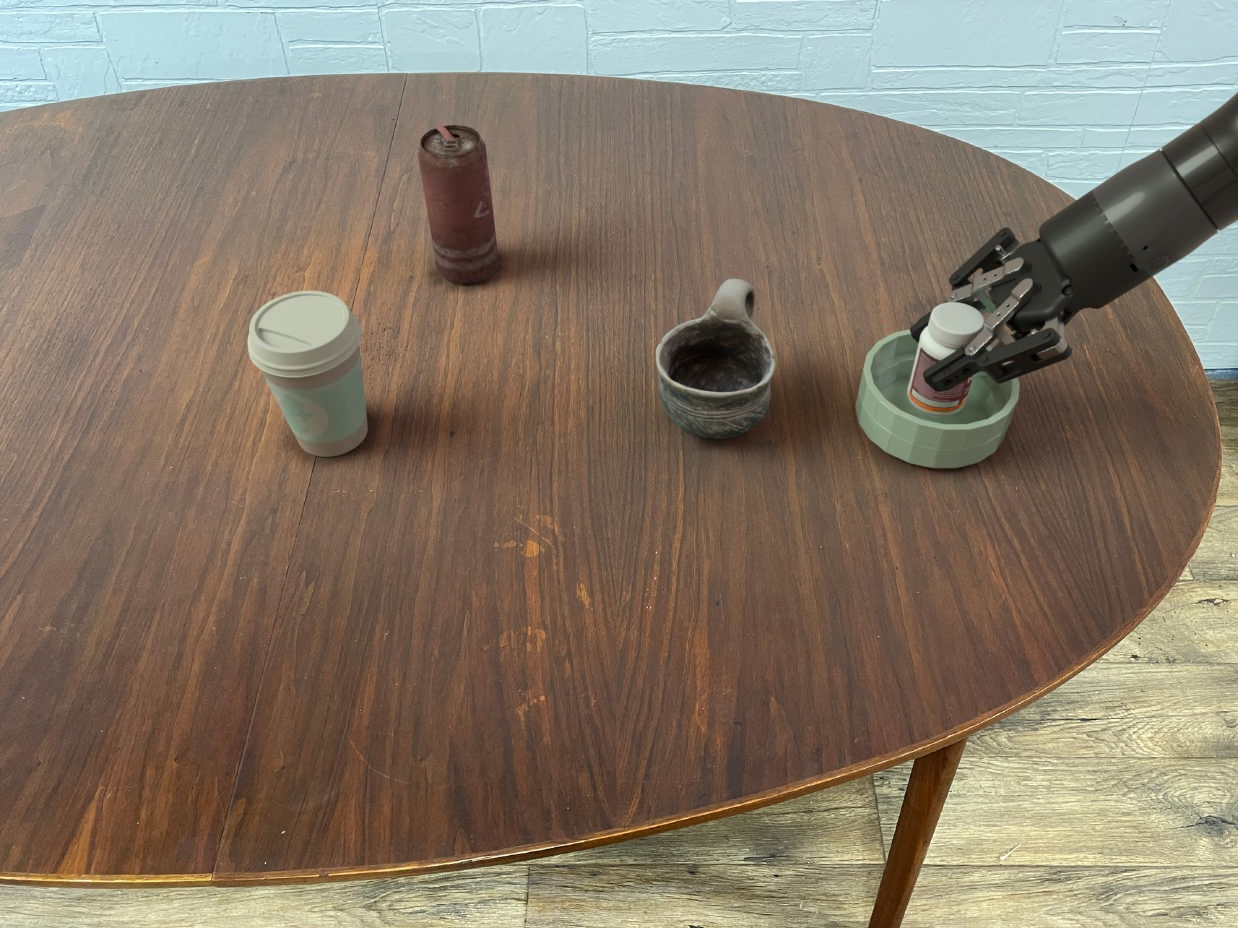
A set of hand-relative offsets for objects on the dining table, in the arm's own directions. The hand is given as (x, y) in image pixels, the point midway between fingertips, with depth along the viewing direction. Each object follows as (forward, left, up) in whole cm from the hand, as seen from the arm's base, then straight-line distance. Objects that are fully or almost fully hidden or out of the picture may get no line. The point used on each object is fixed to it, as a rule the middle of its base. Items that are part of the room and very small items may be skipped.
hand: (923, 360), depth 83 cm
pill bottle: (-2, 0, -4) cm, 5 cm away
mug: (+16, -2, -7) cm, 18 cm away
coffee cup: (+48, +1, -7) cm, 49 cm away
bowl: (-2, 0, -7) cm, 7 cm away
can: (+39, -22, -7) cm, 46 cm away
